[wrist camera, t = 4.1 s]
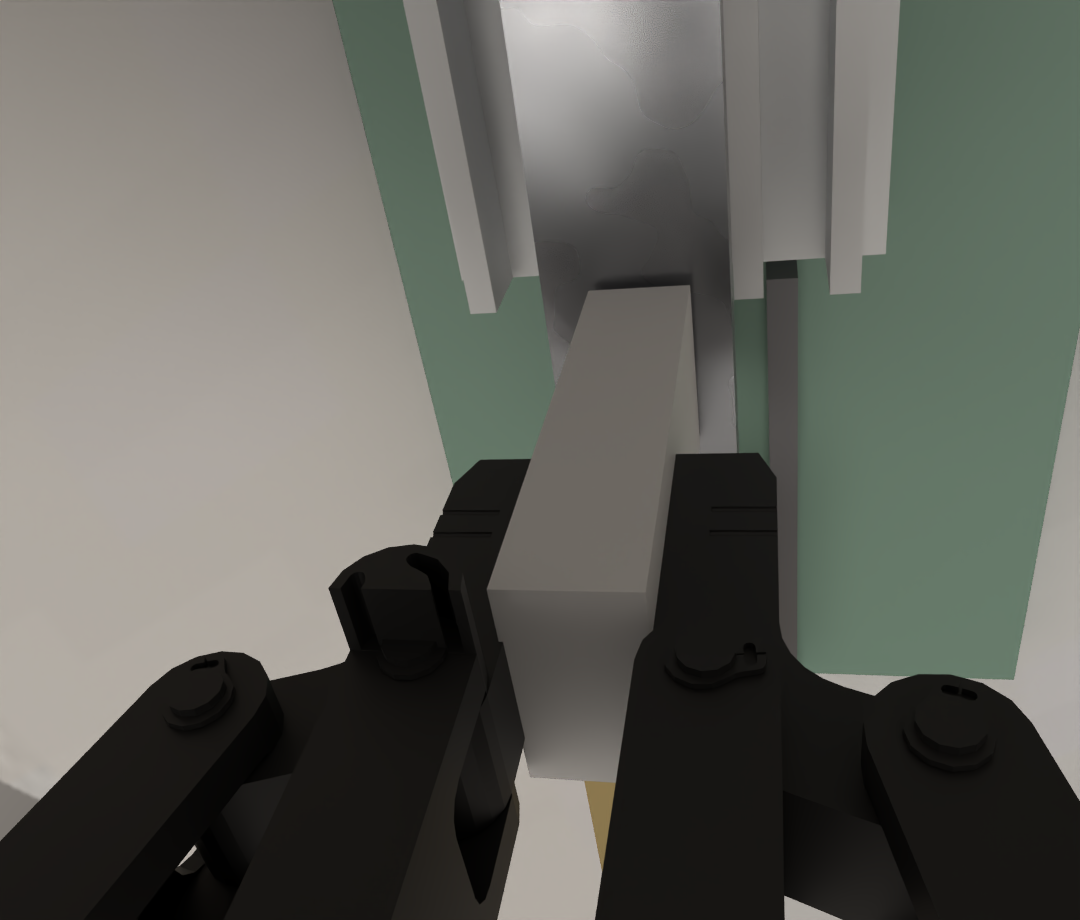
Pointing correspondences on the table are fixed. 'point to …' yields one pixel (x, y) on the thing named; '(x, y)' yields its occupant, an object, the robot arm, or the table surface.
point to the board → (800, 289)
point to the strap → (630, 169)
